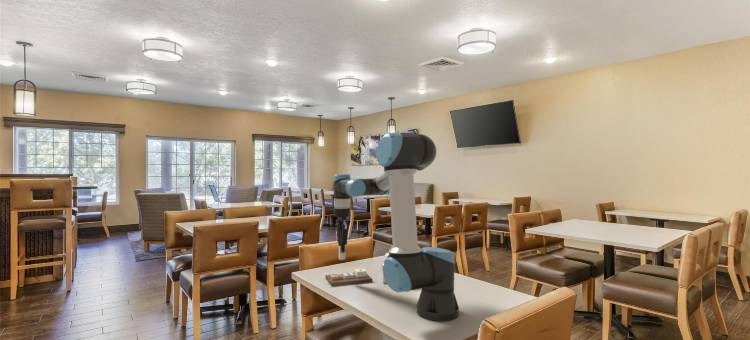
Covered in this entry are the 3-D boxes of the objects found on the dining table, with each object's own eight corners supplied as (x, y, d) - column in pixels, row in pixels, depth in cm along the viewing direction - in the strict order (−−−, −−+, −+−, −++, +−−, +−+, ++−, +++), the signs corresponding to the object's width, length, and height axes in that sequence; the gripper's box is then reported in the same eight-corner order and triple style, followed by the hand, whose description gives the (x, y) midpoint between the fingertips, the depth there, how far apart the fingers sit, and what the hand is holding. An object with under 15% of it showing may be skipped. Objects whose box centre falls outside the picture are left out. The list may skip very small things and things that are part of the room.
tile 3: (342, 281, 169) (342, 275, 169) (332, 282, 168) (332, 276, 168) (339, 278, 174) (339, 272, 174) (330, 279, 172) (330, 273, 172)
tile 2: (354, 280, 171) (354, 274, 171) (344, 281, 170) (345, 275, 170) (351, 277, 176) (351, 271, 176) (342, 278, 174) (342, 272, 174)
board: (372, 281, 170) (372, 278, 170) (331, 286, 164) (331, 282, 164) (364, 274, 182) (364, 271, 181) (325, 278, 175) (325, 275, 175)
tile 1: (366, 276, 173) (366, 270, 173) (357, 277, 172) (357, 271, 172) (363, 273, 177) (363, 268, 177) (354, 274, 176) (354, 268, 176)
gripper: (354, 208, 166) (354, 261, 166) (346, 206, 178) (345, 255, 179) (337, 209, 164) (337, 263, 164) (330, 206, 176) (330, 256, 176)
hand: (342, 259), depth 171 cm, fingers closed
